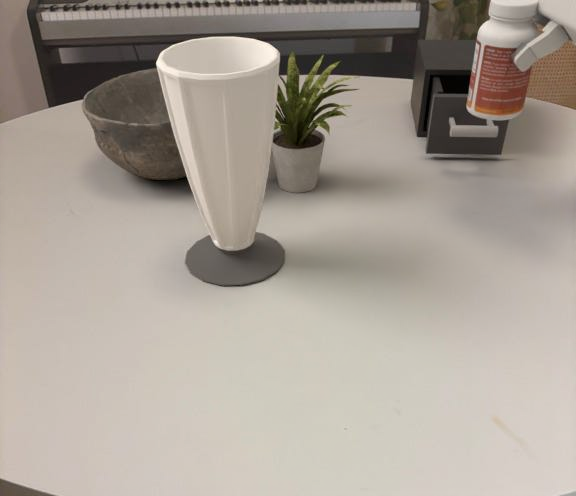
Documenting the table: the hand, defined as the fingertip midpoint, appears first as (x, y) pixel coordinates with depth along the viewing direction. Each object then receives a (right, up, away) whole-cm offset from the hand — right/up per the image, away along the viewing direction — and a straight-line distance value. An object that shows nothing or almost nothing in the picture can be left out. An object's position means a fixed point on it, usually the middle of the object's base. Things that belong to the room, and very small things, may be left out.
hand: (498, 53), depth 68 cm
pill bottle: (+1, -4, +4) cm, 6 cm away
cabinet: (+3, +7, +34) cm, 34 cm away
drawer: (+3, 0, +25) cm, 25 cm away
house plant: (-21, -9, +18) cm, 29 cm away
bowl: (-39, -4, +23) cm, 45 cm away
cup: (-28, -21, +6) cm, 35 cm away
